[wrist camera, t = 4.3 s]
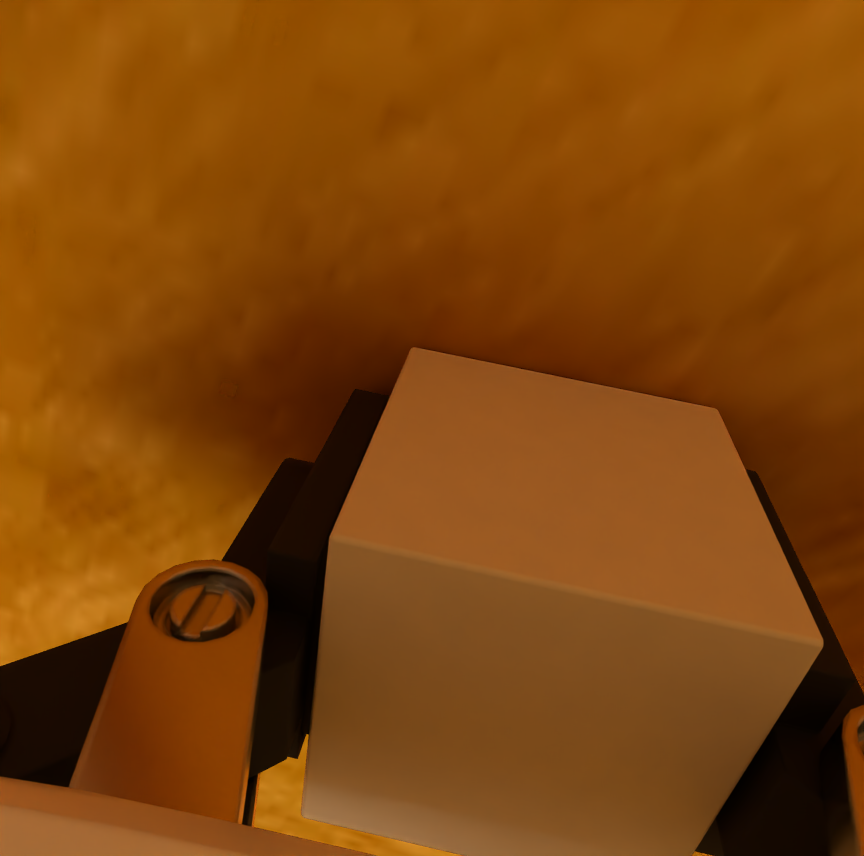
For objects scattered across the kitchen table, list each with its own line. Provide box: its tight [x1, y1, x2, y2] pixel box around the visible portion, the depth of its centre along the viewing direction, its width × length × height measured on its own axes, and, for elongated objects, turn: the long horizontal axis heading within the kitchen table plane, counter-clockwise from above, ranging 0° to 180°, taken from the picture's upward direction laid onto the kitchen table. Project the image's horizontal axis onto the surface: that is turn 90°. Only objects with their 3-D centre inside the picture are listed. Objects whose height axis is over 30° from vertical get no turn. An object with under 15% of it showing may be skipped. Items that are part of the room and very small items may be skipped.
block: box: [301, 347, 823, 856], centre depth 9 cm, size 4×4×4 cm
